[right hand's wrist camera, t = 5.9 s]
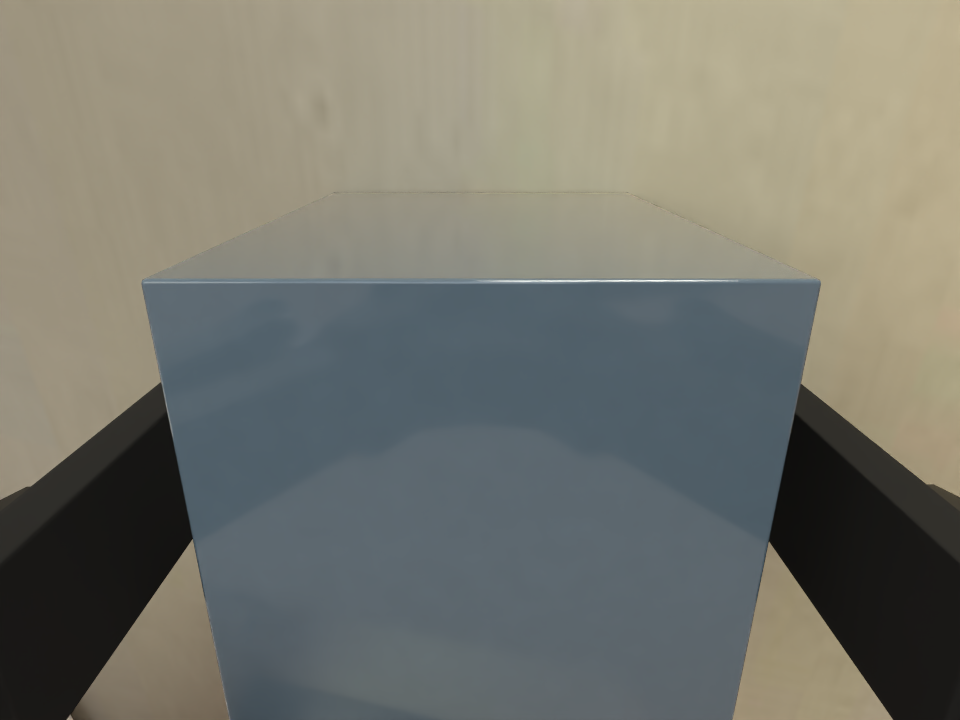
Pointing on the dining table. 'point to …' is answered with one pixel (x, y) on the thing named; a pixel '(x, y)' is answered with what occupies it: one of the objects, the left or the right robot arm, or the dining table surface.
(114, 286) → the dining table surface
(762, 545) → the blue-grey block
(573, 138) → the dining table surface
